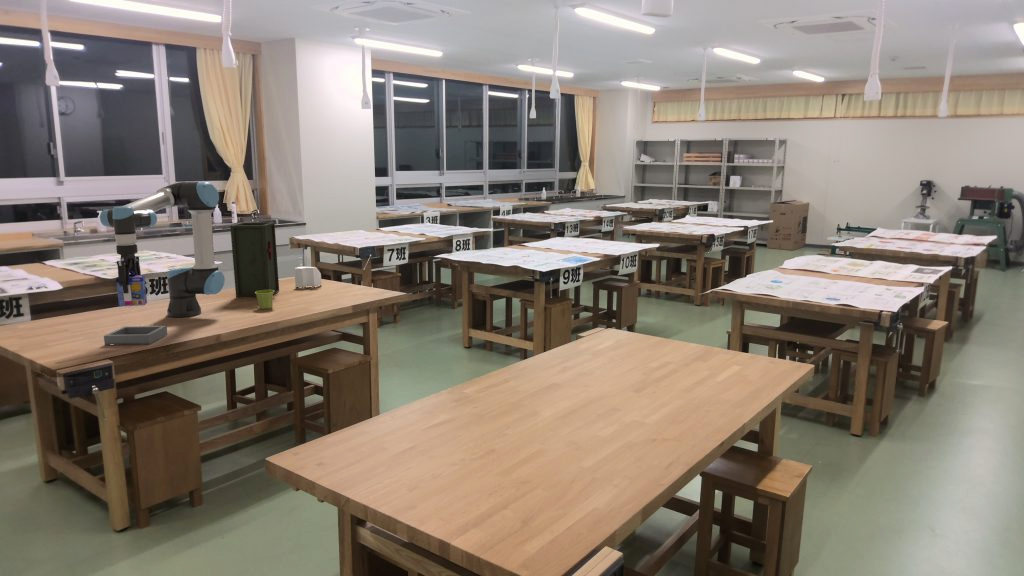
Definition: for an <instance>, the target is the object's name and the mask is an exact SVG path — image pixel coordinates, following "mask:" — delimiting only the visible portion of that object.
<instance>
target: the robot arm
mask: <svg viewBox="0 0 1024 576" xmlns="http://www.w3.org/2000/svg"><path fill="white" fill-rule="evenodd" d="M219 201H220V194H219V191H218V189H217V188H216V186H215V185H214V184H212V183H211V182H209V181H208V182H207V181H179V182H174V183H172V184H169V185H166V186H164V187H161V188H159V189H157V190H156V191H155V193H153V194H150V195H148V196H145V197H142V198H140V199H137V200H135V201H132V202H130V203H127V204H125V205H121V206H114V207H113V208H112V209H111V208H109V209H104V210H102V211H101V212H100V215H99V220H100V223H101V225H102V226H103V227H108V228H112V229H113V228H114V229H113V230H114V239H115V244H116V247H115V248H116V249H115V250H116V254H117V255H119V256H120V259H119V260H116V265H117V275H118V276H117V277H118V279H119V285H120V286H123V294H124V301H132V297H131V288H130V285H129V274H133V273H130V271H134V273H135V275H142V272H141V266H140V256H136V255H135V254H138V251H139V250H138V244H136V243H138V241H137V234H136V229H141V228H142V229H143V228H144V229H145V228H150V227H154V226H155V225H156V224H157V221H158V215H157V213H156V212H158V211H160V210H163V209H171V208H172V207H187V212H188V213H190V214H191V226H192V237H193V238H192V239H193V252H194V253H193V255H194V265H193V266H185V267H179V268H173V269H170V270H168V271H167V285H168V293H169V294H168V295H169V302H168V306H167V310H166V312H167V313H166V314H167V315H168V316H167V317H170V318H186V317H195V316H197V315H201V313H202V307H201V305H200V303H199V302H198V299H197V295H207V296H209V295H217V294H219V293H220V292H221V291H222V290H223V287H224V286H225V278H226V277H225V275H224V274H223V272H222V271H221V270H219V266H218V265H217V264H216V263H215V251H214V236H213V222H212V221H213V220H212V213H213V212H214V211H215V207H217V205H218V204H219Z"/></svg>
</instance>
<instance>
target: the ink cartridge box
mask: <svg viewBox="0 0 1024 576" xmlns="http://www.w3.org/2000/svg"><path fill="white" fill-rule="evenodd" d="M130 273H133V274H130ZM130 273H129V285H130V288H131V297H132V301H124V294H123V286H120V285H119V279H118V276H117V277H116V278H115V281H116V290H117V299H118V301H117V302H118V307H133V306H136V307H138V306H145V305H147V304H148V299H147V298H148V295H147V288H146V279H145V275H144V274H141V275H135V273H134V271H130Z"/></svg>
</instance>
